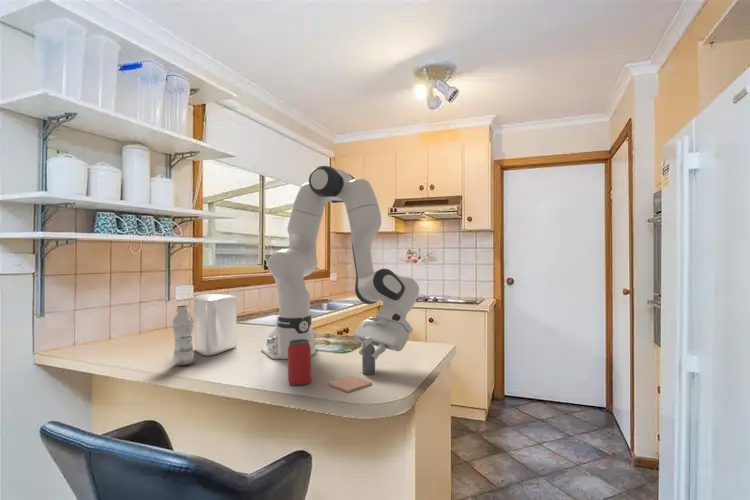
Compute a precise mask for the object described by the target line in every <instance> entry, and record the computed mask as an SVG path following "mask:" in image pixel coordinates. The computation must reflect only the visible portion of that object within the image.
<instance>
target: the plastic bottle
mask: <svg viewBox="0 0 750 500" xmlns="http://www.w3.org/2000/svg"><path fill="white" fill-rule="evenodd" d="M189 311H190V306H189V305H184V304H183V305H177V306H176V313H177V314H176V315H175V317H174V318H173V320H172V329H173V330H172V331H173V335H174V350H173V351H174V352H173V355H172V356H173V357H172V359H173V363H174V365H175V366H186V365H191V364H192V363H193V362H194V361H195V352H194V351H195V350H194V347H193V328H194V327H193V326H194V320H193V317H192V315H191V314H190V313H189Z"/></svg>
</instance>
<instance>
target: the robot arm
mask: <svg viewBox="0 0 750 500" xmlns="http://www.w3.org/2000/svg"><path fill="white" fill-rule="evenodd" d="M329 202H331V203H332V204H335V203H336V204H337V203H343V204H344V206H345V210H346V215H347V218H348V223H349V228H350V237H351V239H350V240H351V249H352V257H353V262H354V263H353V264H354V268H355V270H354V271H355V278H356V279H355V286H354V292H355V295H356V297H357V298H358V300H359V301H360V302H361V303H364V304H365V305H375V304H376V303H378V302H381V303H382V305H381V307H380V309H379V310H378V312H377V314H376V315H375V317H372V316H369V317H368V318H366V319H364V320H363V321H361V322H360V324H359V325H358V326H357V328H356V329H355V331H353V338H354V339H355V340H356V341H357V342H358V343H361V346H360V349H359V351H358V354H359V355H360V356H362V349H363V347H364V346H365V338H368V337H372V345H373V346H374V347H378V348H377V349H375V351H373V352H372V354H371V357H372V358H374V359H375V360H377V359H378V358H379V357H380V355H382V354H383V353H385V351H386V350H391V351H394V352H401V351H403V349H404V347H405V346H406V344H407V343H408V341H409V337H410V334H411V333H412V332H413V330H414V329H413V327H412V325H411V324H410V323H409V321H408V320H407V319H406V318H407V316H408V314H409V313H410V312H411V310H412V309H413V307H414V305H415V303H416V301H417V300H418V297H419V293H420V288H419V287H420V286H419V284H418V282H417V281H416V280H415V279H413V278H412V277H410V276H402V275H399V274H397V273H395V272H393V271H392V270H391V269H388V268H381V269H378V270H376V271H374V265H373V258H372V253H371V250H372V249H371V248H372V243H373V242H374V239H375V238H376V237H377V234H378V233H379V231H380V229H381V227H382V214H381V210H380V206H379V203H378V199H377V196H376V193H375V191H374V189H373V187H372V185H371V183H370V182H369V181H368V179H367V180H366V179H365V178H355V177H354V176H353V175H351V174H350V173H347V172H346V171H344V170H341V169H339V168H334V167H332V166H330V165H319V166H317V167H315V168H314V169H312V170H311V172H310V174H309V177H308V182H305V183H303V184H302V185H301V186H300V187H299V189H298V192H297V194H296V197H295V200H294V202H293V204H292V209H291V213H290V217H289V221H288V225H287V229H286V230H287V233H288V236H289V240H288V241H289V246H288V248H283V249H279V250H277V251H275V252H273V253H272V254H271V255H270V256H269V259H268V260H267V269H268V271H269V274H270V275H272V277H273V279H274V282H275V285H276V288H277V293H278V304H279V305H278V306H279V308H278V309H279V310H278V311H279V316H276V327H275V328H274V329H273V330H272V331H271V332H270V333H269V334H268V337H267V338H266V343H267V344H266V346H264V347H261V350H260V352H262V353H264V354H265V355H266V356H267V357H269V358H271V360H283V359H286V360H288V347H289V344H290V343H289V342H290V341H292V340H297V339H305V340H308V341H309V345H310V348H311V356H313V355H315V354H316V351H317V350H318V347H317V346H316V344H315V343H316V342H315V334H314V329H313V328H312V326H311V325H312V315H311V301H310V300H311V298H310V297H311V296H310V293H309V291H308V288H307V287H306V284H305V279H304V278H305V277H308V276H309V275H311V274H312V273H314V272H315V270H316V269H317V267H318V258H317V254H316V253H317V239H318V234H319V231H320V226H321V222H322V218H323V214H324V211H325V208H326V205H327V204H328V203H329Z"/></svg>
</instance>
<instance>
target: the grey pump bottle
mask: <svg viewBox="0 0 750 500" xmlns="http://www.w3.org/2000/svg"><path fill="white" fill-rule="evenodd" d="M375 350H376V348H375V346H374V345H372V337H368V338H365V346H364V347H363V349H362V355H361V359H362V361H361V362H362V364H361V366H362V374H363V375H364V376H373V375H375V374H376V359H374V358H372V357H371V354H372V352H373V351H375Z"/></svg>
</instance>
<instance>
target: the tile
mask: <svg viewBox="0 0 750 500" xmlns="http://www.w3.org/2000/svg"><path fill="white" fill-rule="evenodd" d="M372 385H373V382H372V381H369V380H366V379H363V378H361V377H357V376H355V375H349V376H345V377H343V378H339V379H335V380H332V381H328V382H327V386H329V387H332V388H335V389H337V390H340V391H341V392H342V391H343V392H345V393H351V392H354V391H357V390H360V389H363V388H366V387H369V386H372Z"/></svg>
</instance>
